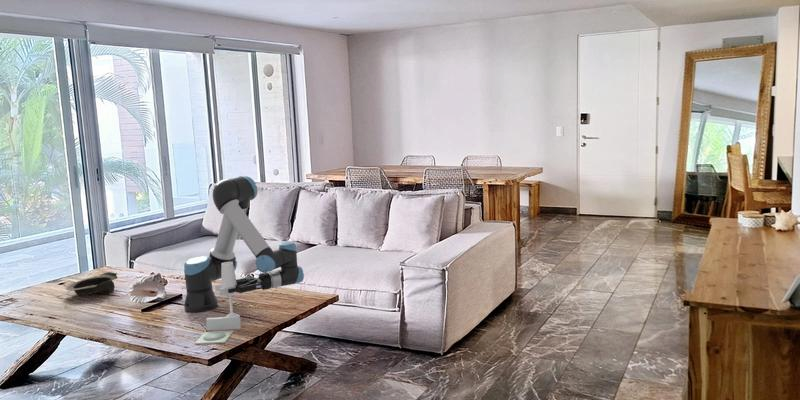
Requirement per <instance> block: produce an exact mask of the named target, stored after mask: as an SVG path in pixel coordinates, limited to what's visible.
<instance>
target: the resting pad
mask: <svg viewBox="0 0 800 400" xmlns="http://www.w3.org/2000/svg"><path fill="white" fill-rule="evenodd" d="M233 333H234V330H215V331H205V332H203V333H202V335H200V337H199V338H198V339H197V340H196V342H194V345H195V346H196V345H211V344H213V345H215V344H225V343H227V341H228V340H229V339H230V338H231V336H232V335H233Z"/></svg>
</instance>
